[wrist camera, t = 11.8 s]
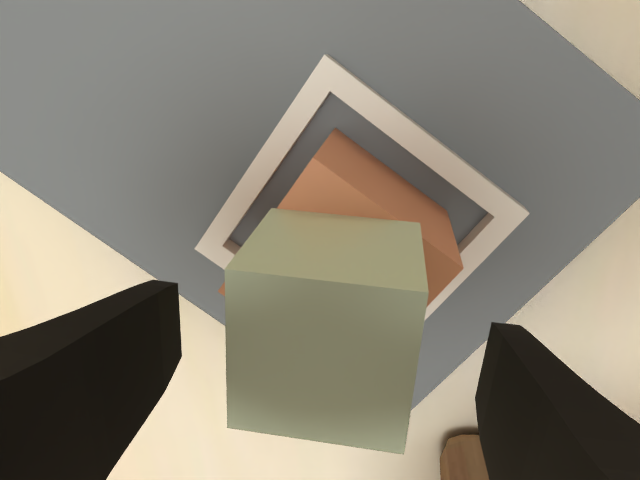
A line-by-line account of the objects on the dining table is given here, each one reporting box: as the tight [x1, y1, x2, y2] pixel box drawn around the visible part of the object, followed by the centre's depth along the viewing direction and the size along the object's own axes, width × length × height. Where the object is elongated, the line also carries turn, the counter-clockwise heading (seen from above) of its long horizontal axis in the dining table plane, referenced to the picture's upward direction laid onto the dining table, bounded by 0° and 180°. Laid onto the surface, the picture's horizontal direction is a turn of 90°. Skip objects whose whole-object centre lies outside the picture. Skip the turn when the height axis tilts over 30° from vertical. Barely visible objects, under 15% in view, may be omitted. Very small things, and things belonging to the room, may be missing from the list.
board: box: [0, 0, 640, 410], centre depth 18 cm, size 22×16×2 cm
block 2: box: [225, 208, 429, 454], centre depth 12 cm, size 4×4×4 cm
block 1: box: [218, 128, 464, 306], centre depth 16 cm, size 5×5×5 cm
